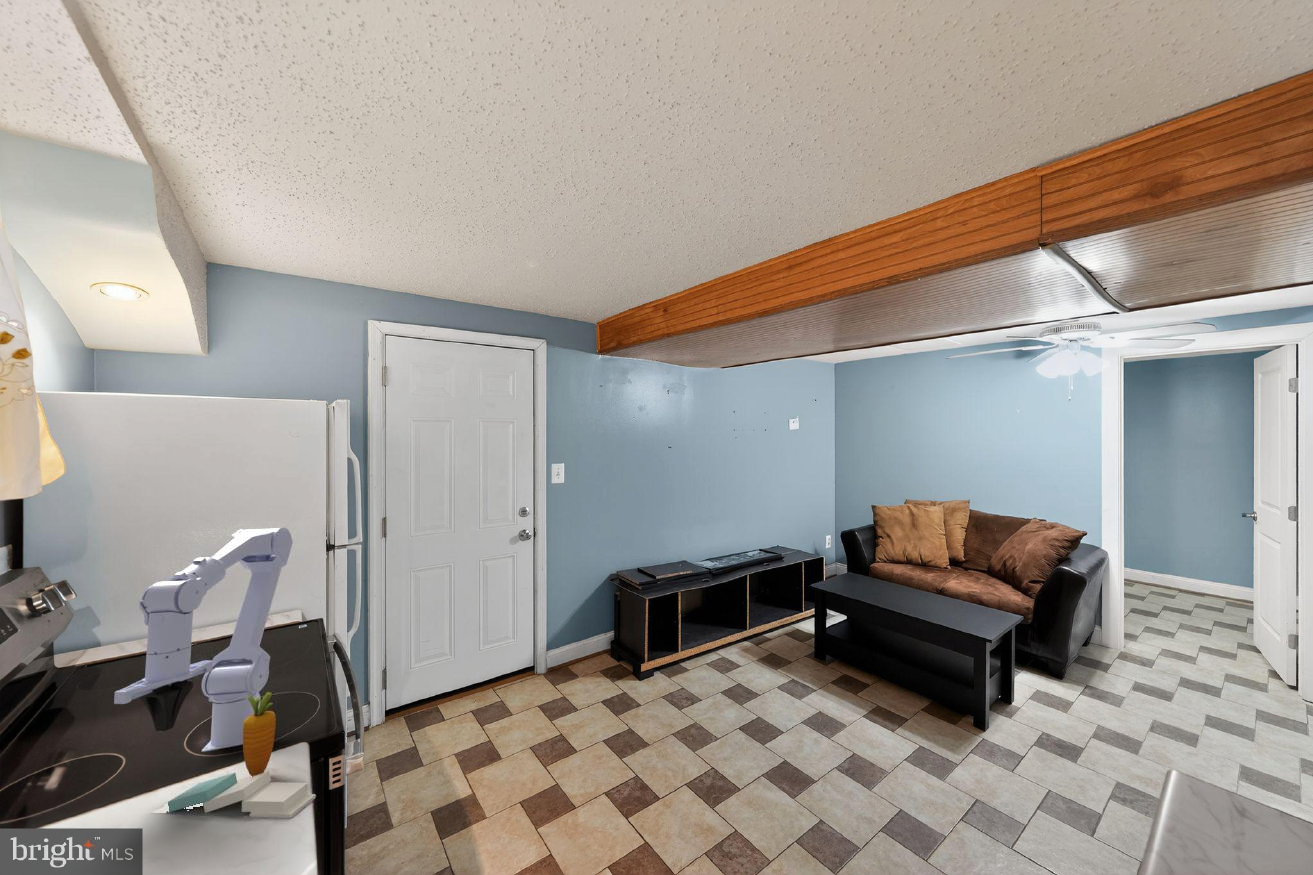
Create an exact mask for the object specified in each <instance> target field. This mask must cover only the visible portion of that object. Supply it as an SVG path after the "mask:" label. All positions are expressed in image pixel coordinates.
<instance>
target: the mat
mask: <svg viewBox="0 0 1313 875" xmlns="http://www.w3.org/2000/svg"><path fill="white" fill-rule="evenodd" d="M242 801H243V800H241V801H238V802H236V803H233V804H230V805H227V806H224V807H221V808H218V809H215V810H212V811H210V812H207V813H205V810H204V806H200V807H193V809H186V808H185V809H184V808H182V809H179V810H175V811H172V812H170V811H169V812H168V811H167V812H166V814H165V815H175V816H176V815H181V816H200V817H201V816H202V817H203V816H204V817H220V818H221V817H223V818H226V817H227V818H244V817H245V816H247V815H248V814H250V813H251V812H242ZM187 810H189V811H187Z"/></svg>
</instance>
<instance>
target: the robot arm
mask: <svg viewBox="0 0 1313 875" xmlns="http://www.w3.org/2000/svg"><path fill="white" fill-rule="evenodd" d="M293 542H294V541H293V537H292V534H291V532H290V530H289V529H288V528H287V527H283V526H282V527H276V528H273V527H272V528H250V529H247V528H240V529H238V530H237V531H235V533H233V534H231V535H230V538H229V542H228V543H227V544H226V545H225V546H223V547H222V548H220V549H219V551H216V553H215V554H214V555H213V556H210V557H209V556H205V557H197V558H195V559H193V560H192V563H191V564H190V565H189V566H186V568H184V569H182V570H181V571H178V572H176V573H175V574H174V575H173V576H172V577H170V578H169V579H167V581H166V580H165V581H157V582H156V583H155V582H154V584H152V585H150V586H149V587H147V589H146V590H145V591H144V592H143V594H142V597H141V600H140V601H139V600H138V601H139V602H138V606H139V609H140V612H141V613H142V615H143V616H144V620H143V621H144V624H145V626H147V641H146V654H145V655H146V658H145V671H144V672H145V674H144V678H142V679H141V680H138V681H136V682H133V683H131V684H130V685H129V686H126V687H124V688H121V689H119V690H116V691H114V697H113V698H114V699H113V701H114V702H113V704H114V705H124V704H129V703H131V702H132V700H136V699H138V698H139V699H140V700H141V701H142V703H143V704H144V705H145V707H146V708H147V710H148V711H149V714H150V717H151V719H152V722H153V725H154V729H155V732H166V731H167V732H168V730H171V729H174V727H175V724H176V721H177V718H178V716H179V712H180V711H181V707H182V706H183V704H184V702H185V700H186V698H187V697H188V695H189V693H190V692H191V690H192V689H193V688H194V681H192V680H191V681H190V678H193V677H197V676H199V675H202V674H204V675H203V677H202V681H201V690H202V693H203V695H204V696H205V697H208V702H212V709H211V710H212V711H211V727H210V730H211V731H210V741H209V742H208V743H207V744H206V745H205V746H204V747H203V748H202V749H201V753H202V752H203V753H205V752H210V751H216V750H220V749H225V748H231V747H236V746H241V745H242V746H243V723H244V720H245V719H246V718H247V717H249V716H251V715H253V714H254V710H253V707H252V705H251V703H250V701H249V700H248V698H249V697H250V696H252V697H253V698H254V700H256V699H257V698H259V699H260V701H259V705H258V709H259V706H260V703H261V695H260V691H262V690H263V688H264V687H265V686H266V684H267V682H268V678H269V675H270V669H269V668H270V667H269V666H270V660H271V655H270V654H269V653H268V652H267V651H266V650H264V649H263V648H262V647H261V646H260V645H261V642H262V638H263V636H264V635H263V634H264V631H265V628H266V624H267V620H268V617H269V614H270V610H271V607H272V604H273V600H274V596H275V592H276V589H277V585H278V581H279V578H280V575H281V572H282V568H283V567H285V566H287V564H288V560H289V557H290V553H291V550H292V546H293ZM238 562H239V563H240V564H241V566H242V567H243V568H245V569H248V570H250V573H251V577H250V580H249V583H248V586H247V589H246V593H245V596H244V599H243V602H242V605H241V607H240V611H239V614H238V619H237V621H236V624H235V627H234V631H233V634H232V637H231V640H230V644H229V646H228V647H226V648H225V649H224V650H222V651H220V652H219V653H218V654H217V655H215V656H214V657H213V658H212V660H201V661H199V662H198V661H197V662H195V663H191V654H192V639H193V638H192V636H193V634H192V633H193V617H194V610H197V609H198V608H199V607H200V605H201V604H202V601H203V598H204V597H205V596H206V594H207V593H208V591H209V590H210V589H213V587H215V586H216V585H218V583H219V582H221V581H222V580H223V579H224V578H225V577H226V574H227V570H228V569H229V568H230V567H232V566H233V565H235V564H236V563H238ZM188 679H189V680H188Z"/></svg>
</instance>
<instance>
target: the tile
mask: <svg viewBox="0 0 1313 875" xmlns="http://www.w3.org/2000/svg"><path fill="white" fill-rule="evenodd" d="M237 782H238V779H237V774H236V772H233V773H228V774H226V775H222V776H219V777H216V778H212V779H208V780H206V781H202V782H198V783H196V784H195V785H193V786H192V787H190V788H189V789H187V790H185V791H184V792H182V793H180V794H179V795H177V796H175V797H174V798H172V799H171V800H169V801H168V802H167V803H168V806H169V811H170V812H172V811H175V810H179V809H182V808H186V807H189V806H193V805H196V804H200V803H203V802H207V801H209V800H211V799H212V798H214V797H215V796H217V795H218V794H220V793H221V792H223V791H225V790H226V789H228V788H229V787H231V786H232V785H234V784H235V783H237Z"/></svg>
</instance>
